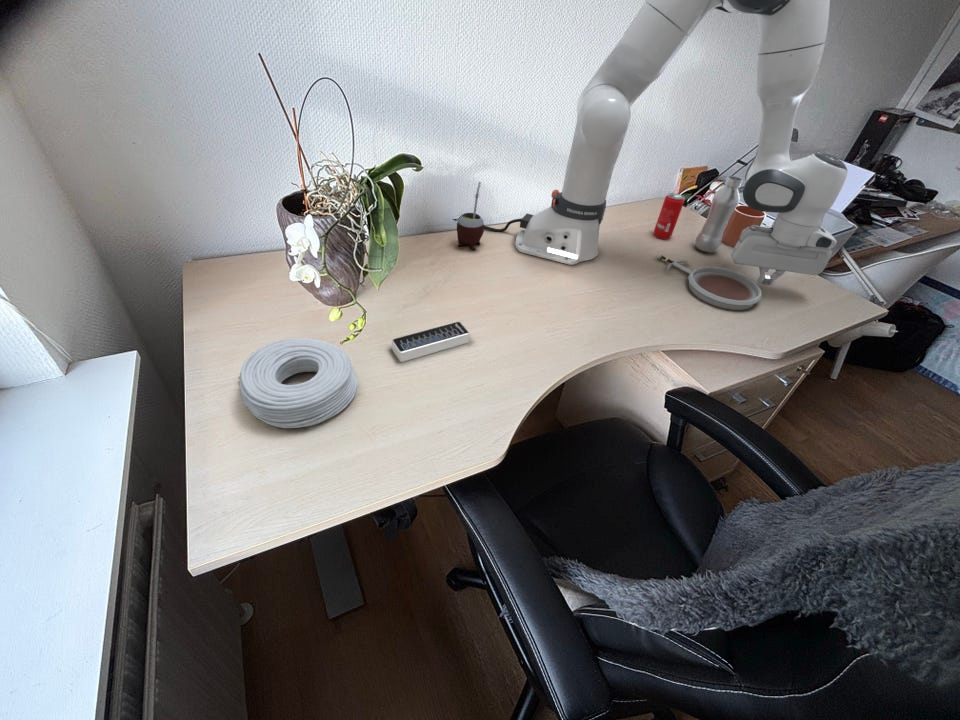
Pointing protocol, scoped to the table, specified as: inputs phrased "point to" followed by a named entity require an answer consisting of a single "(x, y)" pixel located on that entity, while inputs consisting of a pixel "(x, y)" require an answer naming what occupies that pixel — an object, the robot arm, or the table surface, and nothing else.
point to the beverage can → (668, 215)
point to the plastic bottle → (719, 215)
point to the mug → (741, 223)
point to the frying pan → (720, 286)
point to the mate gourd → (470, 227)
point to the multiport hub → (430, 341)
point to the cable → (300, 400)
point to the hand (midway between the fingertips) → (764, 283)
